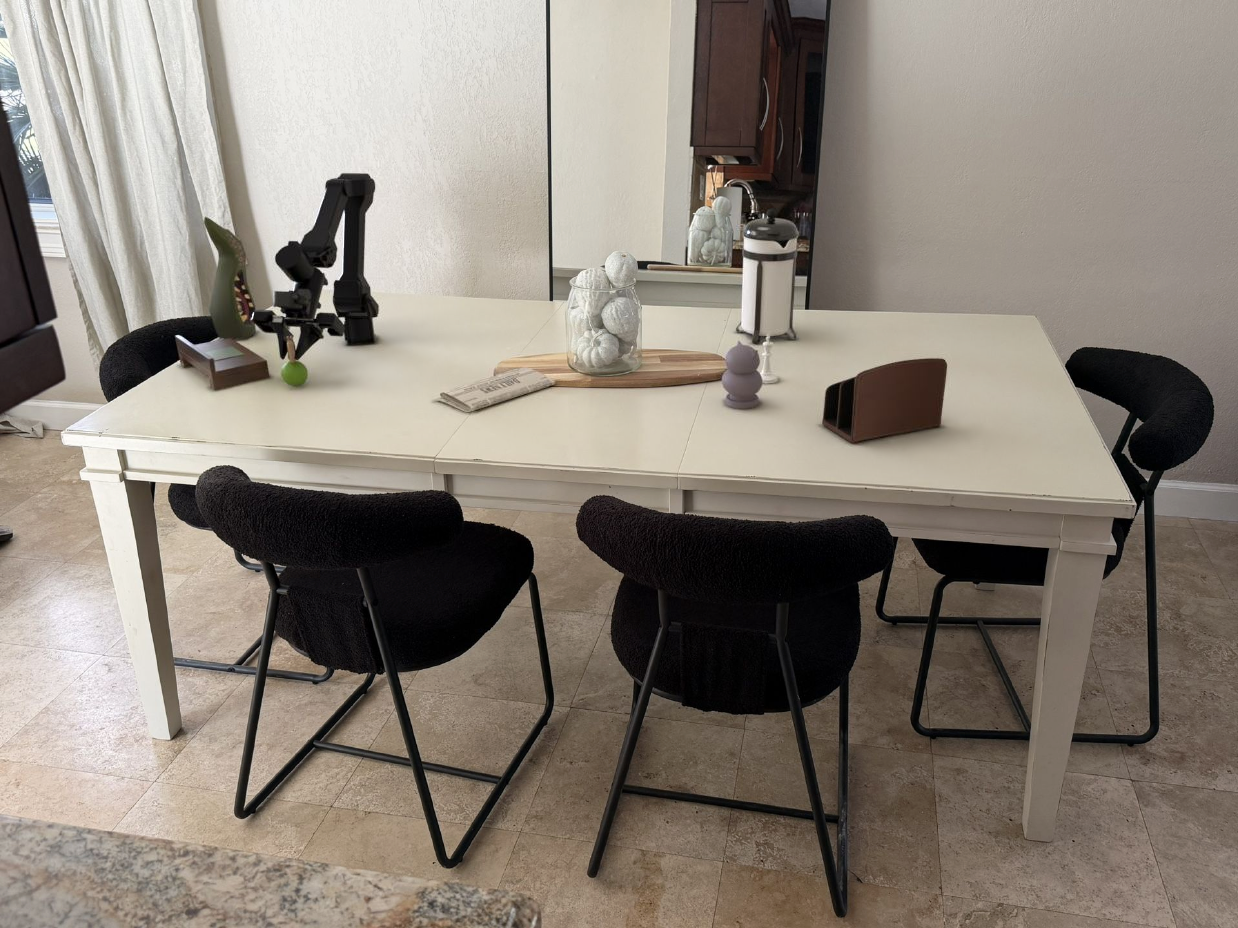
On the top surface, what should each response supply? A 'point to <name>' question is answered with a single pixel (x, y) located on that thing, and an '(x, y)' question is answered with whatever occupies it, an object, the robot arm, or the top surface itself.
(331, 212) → the robot arm
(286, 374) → the snail figurine
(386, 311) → the top surface
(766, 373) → the chess piece
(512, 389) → the newspaper
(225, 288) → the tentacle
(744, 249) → the coffee press
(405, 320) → the top surface
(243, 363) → the wooden display stand
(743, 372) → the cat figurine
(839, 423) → the letter holder
